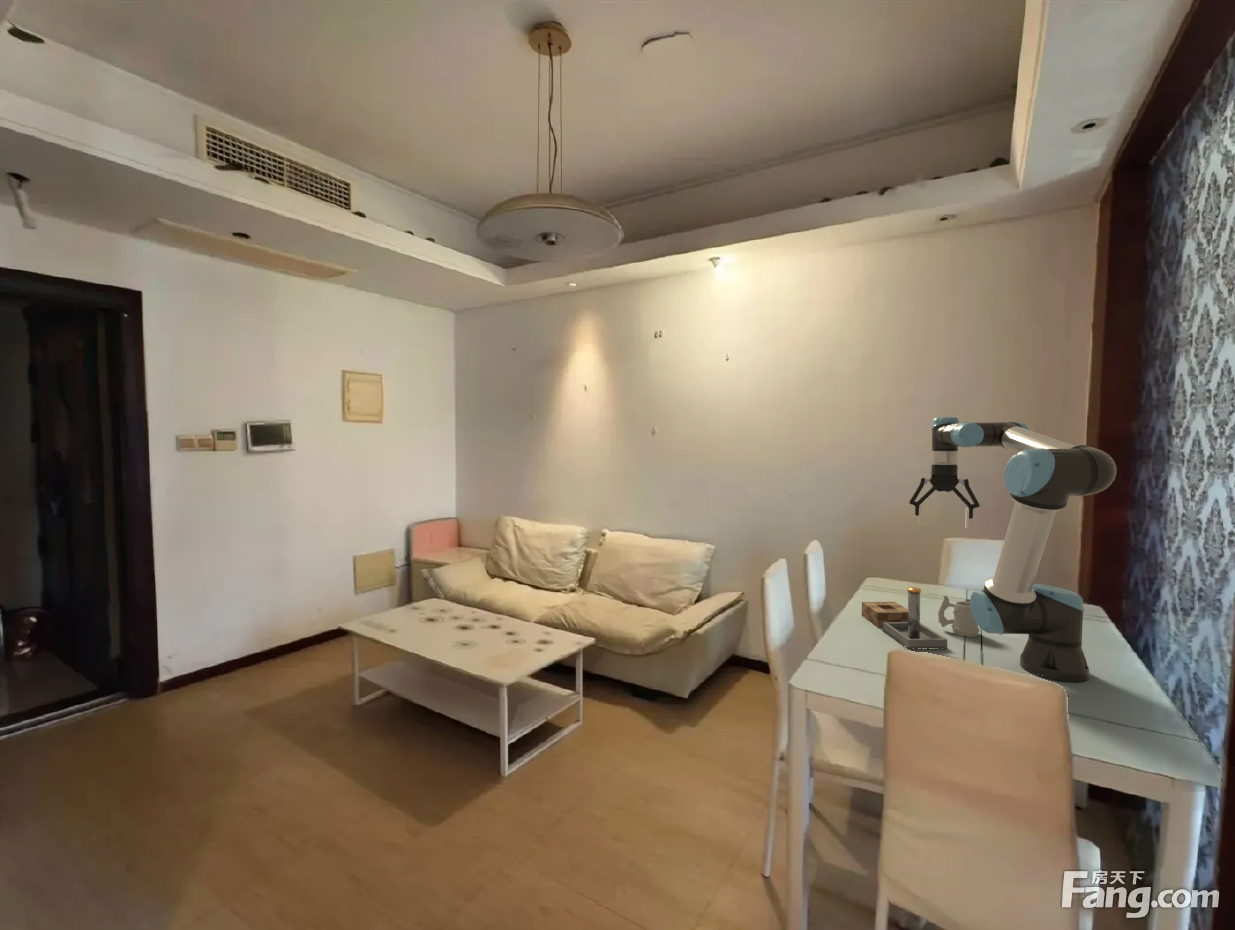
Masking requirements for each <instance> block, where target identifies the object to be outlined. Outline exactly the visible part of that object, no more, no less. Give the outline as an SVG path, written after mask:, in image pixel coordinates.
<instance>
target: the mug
mask: <svg viewBox="0 0 1235 930" xmlns="http://www.w3.org/2000/svg"><path fill="white" fill-rule="evenodd" d="M949 607H950V608H954V609H953V611H952V614H953V618H948V619H947V618H946V617H945V611H946V610H947V609H948V608H949ZM937 615H938V618H937V619H938V622H939V624H940V625H941V627H942V628H945V627H946V626H948V625H951V628H952V632H953V634H954V635H957V636H960V637H967V638H976V637H978V636H979V633H980V627H979V626H978V625H977V623H976V621H975V619H974V617H973V614H972V611H971V607H970V601H963V600H961V601H959V600H958V601H955V602H950V599H949V597H948V596H947V595H946V594H944V595H943V601H942V602H941V605H940V607H939V609H938V611H937Z"/></svg>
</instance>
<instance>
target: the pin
mask: <svg viewBox="0 0 1235 930" xmlns="http://www.w3.org/2000/svg"><path fill="white" fill-rule="evenodd" d="M906 591H907V609H908V637H909V638H911V639H920V623H921V593H922V589H921V588H920V587H915V586H914V587H912V586H909V587H906Z"/></svg>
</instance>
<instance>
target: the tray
mask: <svg viewBox="0 0 1235 930" xmlns="http://www.w3.org/2000/svg"><path fill="white" fill-rule="evenodd" d="M882 632H883V633H885V634H886V635H887V636H888V637H890V638H891V639H893V640H894V641H896V642H897V643H898V644H900V645H903V647H904V646H906V647H904V648H905V649H906V648H907V650H908V649H911V650H914V651H915V649H918V648H921V649H922V648H927V649H926V650H930V649H929V648H939V649H938V650H942V649H941V648H944V649H943V650H947V649H948V639H947V638H945V637H944V636H942V635H941V634H939V633H938V632H936V631H934V630H933V629H931V628H930V627H928V626H927V625H925V624H923V623H922V622H920V639H911V638H909V637H908V622H883V627H882ZM913 648H914V649H913Z"/></svg>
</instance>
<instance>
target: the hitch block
mask: <svg viewBox="0 0 1235 930" xmlns="http://www.w3.org/2000/svg"><path fill="white" fill-rule="evenodd" d="M861 617H863V618H864V619H866V620H867V621H868V622H870V623H871V624H873V626H875V627H877V628H883V622H908V608H906V607H904V606H903V605H901V604H900V603H898V602H896V601H861Z"/></svg>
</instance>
